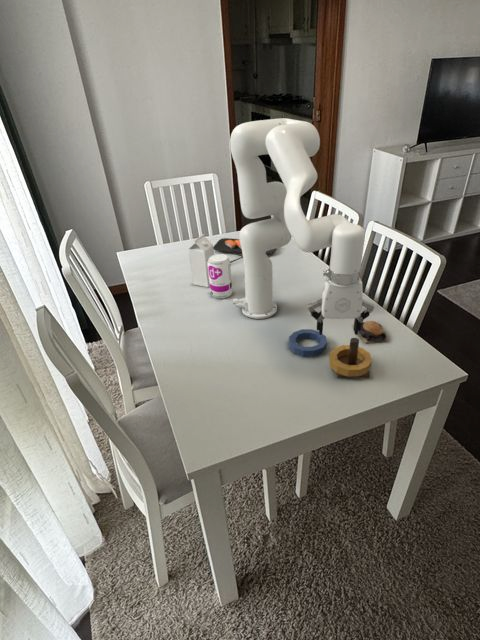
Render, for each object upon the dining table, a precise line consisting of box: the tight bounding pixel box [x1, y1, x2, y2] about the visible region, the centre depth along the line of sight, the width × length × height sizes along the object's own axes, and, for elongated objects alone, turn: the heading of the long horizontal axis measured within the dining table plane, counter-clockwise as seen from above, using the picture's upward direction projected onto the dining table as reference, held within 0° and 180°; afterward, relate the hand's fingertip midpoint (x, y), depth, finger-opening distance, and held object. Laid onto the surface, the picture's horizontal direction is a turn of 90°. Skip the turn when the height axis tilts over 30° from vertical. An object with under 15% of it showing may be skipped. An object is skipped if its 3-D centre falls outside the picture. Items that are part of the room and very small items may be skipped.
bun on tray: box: [358, 320, 389, 344], centre depth 132 cm, size 11×8×4 cm
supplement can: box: [207, 253, 233, 299], centre depth 153 cm, size 8×8×15 cm
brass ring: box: [328, 344, 373, 377], centre depth 118 cm, size 12×12×2 cm
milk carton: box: [187, 233, 215, 288], centre depth 160 cm, size 7×7×19 cm
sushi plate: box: [213, 237, 277, 264], centre depth 185 cm, size 29×30×4 cm
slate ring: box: [288, 328, 328, 358], centre depth 128 cm, size 12×12×2 cm
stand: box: [335, 337, 371, 379], centre depth 116 cm, size 9×9×10 cm
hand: (337, 332), depth 112 cm, fingers open, 9 cm apart
